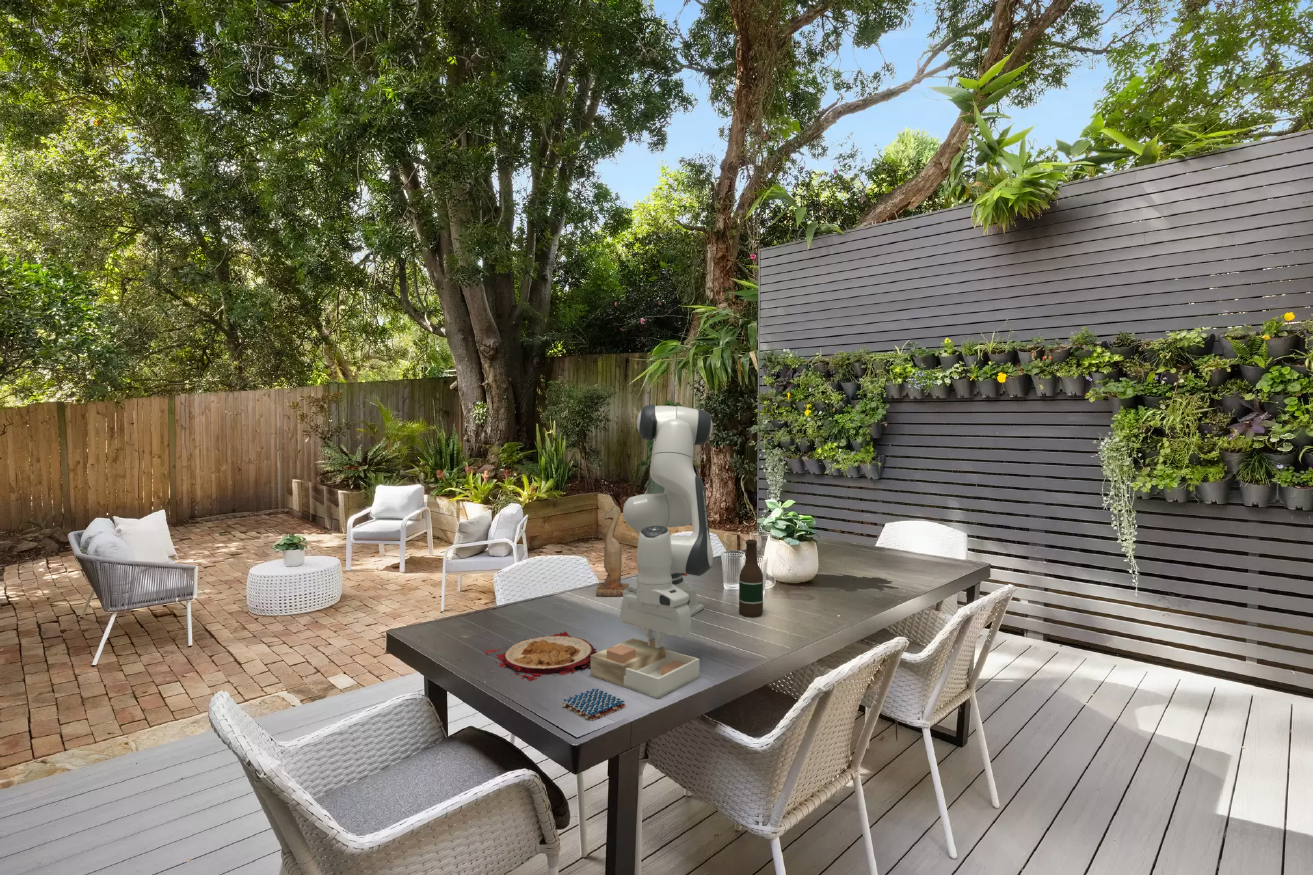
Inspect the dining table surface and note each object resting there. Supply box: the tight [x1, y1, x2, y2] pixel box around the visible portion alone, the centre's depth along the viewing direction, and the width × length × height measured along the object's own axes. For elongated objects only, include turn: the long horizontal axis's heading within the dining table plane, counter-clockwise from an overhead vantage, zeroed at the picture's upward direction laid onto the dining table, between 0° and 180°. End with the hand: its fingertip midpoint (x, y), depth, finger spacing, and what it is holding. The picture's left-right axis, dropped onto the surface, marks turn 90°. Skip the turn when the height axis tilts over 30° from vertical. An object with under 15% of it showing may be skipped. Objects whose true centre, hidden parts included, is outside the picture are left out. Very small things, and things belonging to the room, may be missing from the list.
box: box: [624, 649, 700, 700], centre depth 160 cm, size 16×10×4 cm, turn 141°
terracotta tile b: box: [607, 645, 636, 663], centre depth 162 cm, size 5×5×2 cm
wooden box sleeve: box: [590, 637, 667, 688], centre depth 167 cm, size 16×11×5 cm
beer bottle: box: [738, 538, 764, 619], centre depth 213 cm, size 8×8×24 cm
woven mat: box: [562, 688, 627, 722], centre depth 146 cm, size 10×11×2 cm
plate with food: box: [484, 631, 598, 682], centre depth 176 cm, size 25×26×4 cm
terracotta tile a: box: [661, 661, 685, 676], centre depth 163 cm, size 5×5×2 cm
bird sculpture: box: [595, 504, 630, 597], centre depth 239 cm, size 11×12×32 cm
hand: (654, 646), depth 167 cm, fingers closed
